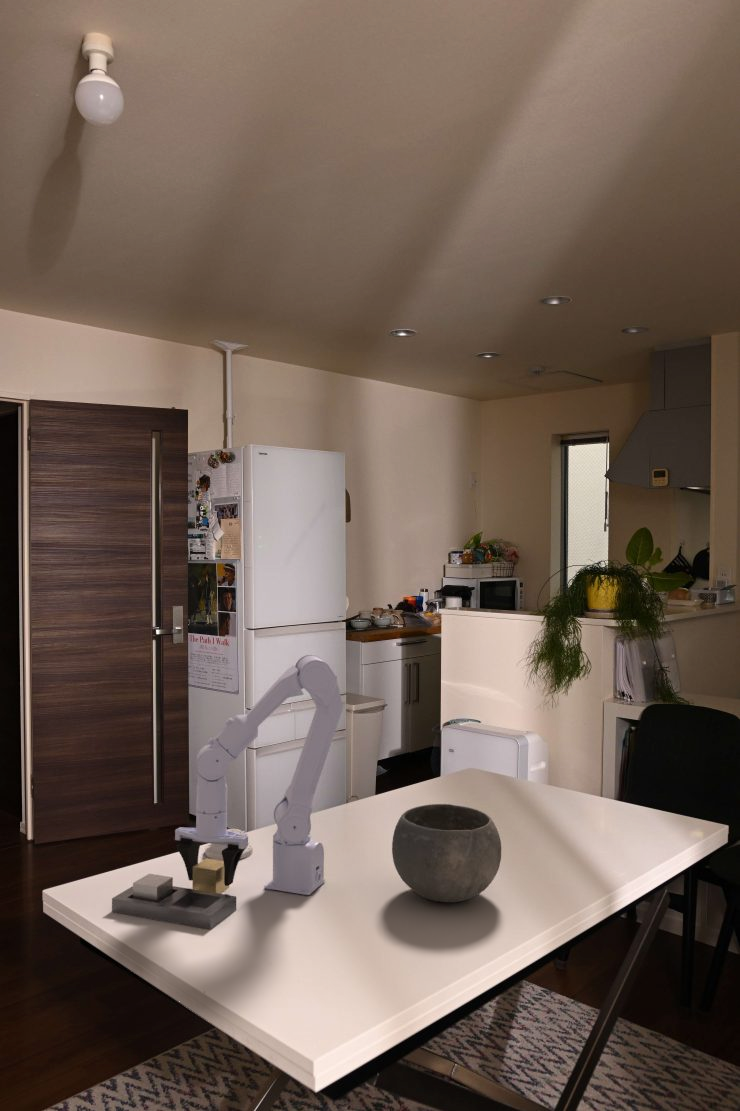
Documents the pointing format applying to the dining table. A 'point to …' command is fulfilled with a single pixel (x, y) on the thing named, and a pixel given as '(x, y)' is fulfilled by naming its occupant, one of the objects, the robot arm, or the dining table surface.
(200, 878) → the brushed gold cube
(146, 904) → the grey tray
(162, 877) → the silver gray cube
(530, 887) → the dining table surface
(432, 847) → the bowl
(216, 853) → the mechanical component
